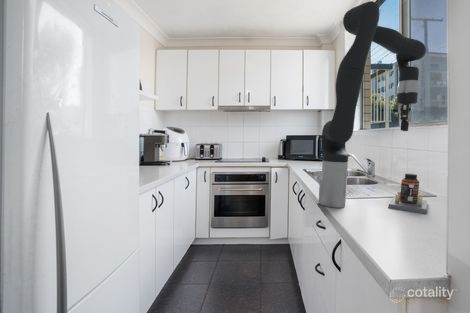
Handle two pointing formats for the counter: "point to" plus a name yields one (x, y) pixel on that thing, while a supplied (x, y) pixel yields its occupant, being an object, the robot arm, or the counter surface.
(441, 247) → the counter surface
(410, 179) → the supplement bottle
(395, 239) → the counter surface
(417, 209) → the plate
